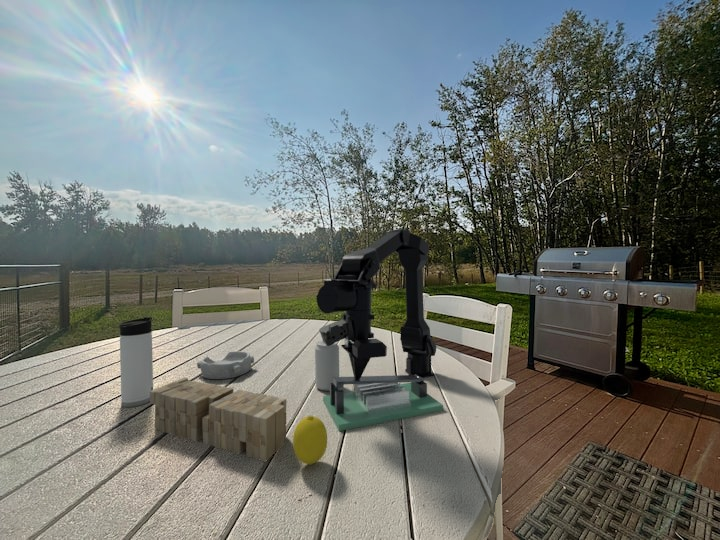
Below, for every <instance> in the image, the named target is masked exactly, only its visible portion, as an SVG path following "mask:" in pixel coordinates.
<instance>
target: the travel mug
mask: <svg viewBox="0 0 720 540" xmlns="http://www.w3.org/2000/svg"><path fill="white" fill-rule="evenodd" d="M152 321H153V319H152V316H151V317H150V316H145V317H142V318H135V319H130V320H126V321H123V322H122V323H120V324H119V354H120V355H119V356H120V357H119V358H120V359H119V362H120V366H119V367H120V397H121V399H120V403H121V406H122V407H124V408H134V407H139V406H143V405H146V404H148V403H149V402H150V391H152V390H154V374H153V373H154V372H153V371H154V368H153V366H154V365H153V363H154V362H153V358H154V357H153V330H152V326H153V325H152Z"/></svg>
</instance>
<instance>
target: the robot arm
mask: <svg viewBox="0 0 720 540" xmlns="http://www.w3.org/2000/svg"><path fill="white" fill-rule="evenodd" d="M429 247H430V245H429V243H428V242H427V241H426V240H425V238H423V237H421V236H420V235H417V234H414V233H411V232H410V231H409V230H408V229H405V228H397V229H391V230H390V231H388V232H387V233H386V234H385V235H384V236H382V237H381V238H379V239H378V240H376V241H375V242H373V243H372V244H370V245H369V246H368V247H366V248H364V249H363V248H362V249H359V250H354V251H352V252H349V253H346V254H345V255H344V256H343V257H342V259H341V262H340V265H339V266H338V269H337V271H336V272H335V275H334V276H333V278H332V279H327V278H326V279H324V280H323V285H322V286H321V287H320V288H319V289H318V293H317V295H316V304H317V307H318V309H319V310H320V311H321V313H323V314H336V313H341V312H342V314H341V319H340V320H337V321H333V322H331V323H329V324H326V325H325V326H322V327H320V328H319V334H320V336H321V338H322V341H323V342H324V343H325V344H326V345H327V346H330V345H333V344H334V343H335V342H337V343H338V342H340V341H341V340H344V344H341V345H340V346H341V348H342V349H344V350H345V351H346V353H347V354H348V357H349V361H350V365H351V369H352V374H353V377H354V378H355V379H356V380H357V379H360V378H361V376H363V373H364V372H365V370H366V367H367V366H368V364H369V362H370V360H371V359H373V358H384V357H386V356H387V351H388V347H387V345H386V344H385V342H383V341H381V340H380V339H378V338H375V333H374V332H371V331H372V320H375V314H373V313H372V290H373V289H377V287H378V285H377V283H375V282H374V281H373V278H374V277H375V275H376V274H377V273H378V272H379V270H380V269H381V263H382V262H383V261H385V259H387V258H388V257H390V255H392V254H393V253H394V252H395V253H396V254H397V255H398V261H399V263H400V265H401V266H402V268H403V269H404V275H405V276H404V277H405V281H404V283H405V306H406V307H405V308H406V320H405V322H404V324H403V325H401V326H400V328H399V332H400V338H399V340H400V343H401V347H402V352H403V353H407V357H406V359H405V362H406V365H405V367H406V368H405V370H404V371H405V372H406V373H407V374H408V375H415V374H417V375H418V376H420V377H421V378H423V377H424V378H425V377H431V376H435V373H434V371H432V357H434V356H436V353H437V345H436V343H435V341H434V340H433V338H432V336H431V329H430V327H429V325H428V323H427V322H426V320H425V317H424V315H425V313H424V288H423V287H424V284H423V281H424V280H423V269H424V268H425V265H426V264H427V262H428V260H429V259H428V258H429V251H430V248H429Z"/></svg>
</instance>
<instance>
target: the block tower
mask: <svg viewBox="0 0 720 540" xmlns="http://www.w3.org/2000/svg"><path fill="white" fill-rule="evenodd" d="M150 404H153V405H154V429H155V430H158V431H159V432H162V433H167V434H171V435H174V436H177V437H181V438H184V439H186V438H187V439H189V440H190V441H193V442H198V441H199V440H202V444H205V445H209V446H212V447H215V448H218V449H222V448H223V450H225V449H227V450H226V451H228V452H231V451H233V452H232V453H234V452H235V453H234V454H237V453H239V454H241V453H243V452H244V451H245V456H246V455H247V456H250V457H249V458H251V457H253V458H252V459H254V458H256V459H255V460H258V459H260V460H263V461H266V460H268V459H269V458H270V457H271V456H272V455H273V454H276V453H275V452H277V451H278V452H279V451H281V449H282V448H284V446H285V438H286V437H287V426H286V425H287V398H284V397H278V396H273V395H269V394H268V395H267V394H265V393H258V392H253V391H247V390H241V389H237V390H236V391H234V388H233V387H227V386H221V385H218V384H214V383H210V382H209V383H205V382H201V381H195V380H189V378H187V377H183V378H182V377H181V378H179V379H178V380H177V379H176V380H174V381H171V382H170V383H167V384H164V385H162V386H160V387H157V388H155V389H154V388H153V390H152V391H150ZM244 449H245V450H244ZM243 450H244V451H243ZM240 452H241V453H240ZM278 452H277V453H278ZM247 456H246V457H247ZM272 457H273V456H272ZM272 457H271V458H272ZM271 458H270V459H271ZM270 459H269V460H270ZM260 460H259V461H260ZM269 460H268V461H269ZM263 461H262V462H263Z"/></svg>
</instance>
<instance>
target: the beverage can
mask: <svg viewBox="0 0 720 540" xmlns="http://www.w3.org/2000/svg"><path fill="white" fill-rule="evenodd" d="M314 366H315V367H314V371H315V374H314V375H315V387H316V388H317V389H318V390H320V391H325V392H326V391H329V392H330V383H333V377H340V346H339V344H338V341H337V342H335V343H334V344H333V345H330V346H327V345H326V344H325V343H324V342H323V340H319V341H317V342H316V343H315V346H314Z"/></svg>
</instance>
